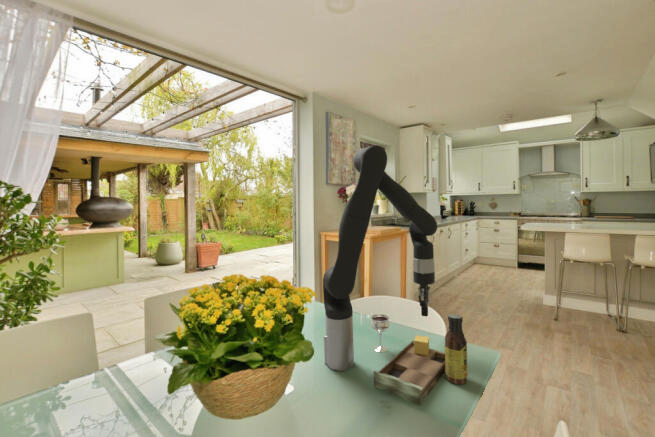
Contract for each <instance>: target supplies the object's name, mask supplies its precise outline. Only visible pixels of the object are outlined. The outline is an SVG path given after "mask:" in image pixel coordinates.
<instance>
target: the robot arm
mask: <svg viewBox="0 0 655 437" xmlns="http://www.w3.org/2000/svg"><path fill="white" fill-rule="evenodd" d="M352 161H353V166H354V168H355V169H356V171H357V172H358V173H359V176H358V179H357V180H358V181H357V184H356V186H355V188H354V190H353V192H352V193H351V195H350V197H349V198H348V201H347V202H346V204H345V206H344V208H343V212H342V215H341V220H340V223H339V227H338V228H339V229H338V245H337V246H338V248H337V256H336V261H335V262H334V266H331V267H329V268H328V269H327V270H326V271H325V272H324V274H323V278H322V292H323V304H324V305H323V306H324V311H325V335H324V336H323V345H324V346H323V350H324V351H323V352H324V364H326V365H327V367H328V368H330V369H331V370H333V371H339V372H341V371H342V372H343V371H348V370H350V369H351V368H352V367H353V366H354V364H355V360H354V358H355V355H354V354H355V352H354V320H353V318H354V317H353V315H354V314H353V306H352V302H351V296H350V295H351V294H352V292H353V290H354V288H355V285H356V284H355V283H356V277H357V271H358V264H359V260H360V256H361V254H362V253H361V252H362V249H363V246H364V243H365V240H366V239H365V238H366V235H367V232H368V228H369V224H370V221H371V217H372V212H373V208H374V205H375V201H376V196H377V192H378V191H380V193H381V194H382V195H383V196H384V197H385V198H386V199H387V200H388V201H389V202H390V203H391V205H392V206H393V208H395V209H396V211H397V212H398V213H399V214H400V215H401V216H402V217H403V218H404V219H407V220H409V224H408V231H409V235H410V239H411V243H412V246H413V261H412V264H413V265H412V268H413V271H412V272H413V274H412V275H413V279H412V280H413V282H414V284H418V288H417V293H418V296H417V297H418V301H419V302H418V303H419V306H420V307H421V308H420V309H421V314H420V315H421V316H422V317H428V315H429V304H430V303H429V302H430V297H431V294H430V292H431V286H430V285H434V284H435V281H436V279H435V278H436V277H435V274H436V273H435V270H436V269H435V267H436V266H435V260H434V258H435V257H434V255H435V254H434V244H433V243H432V241H429V240H428V237H429V236H433V235H434V234H436V233H437V231H438V222H437V221H436V219H435V218H434V216H433V215H432V214H430V212H428V211H427V210H426V209H425V208H424V207H422V206H421V205H419V204H418V202H417V201H416V199H415V198H414V197H413V195H412V194H411V193H410V192H409V191H408V190H407V189H406V188H405V187H403V186H402V185H401V184H400V183H398V182H397V181H396V180H394V179H393V178H392V177H391V176H390V175H389V174H388V173H387V172H386V171H385V170H386V168H387V164H388V154H387V152H386V150H385V149H384V147H382V146H381V145H377V144H376V145H375V144H374V145H368V146H367V147H363V148H360V149H359V150H357V151H356V152H355V154H354V156H353V160H352Z"/></svg>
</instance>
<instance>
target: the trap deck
mask: <svg viewBox="0 0 655 437" xmlns="http://www.w3.org/2000/svg"><path fill="white" fill-rule="evenodd" d="M372 374H373V377H372V378H373V387H375V388H378V389H380V390H382V391H385V392H387V393H389V394H391V395H394V396H396V397H399V398H401V399H403V400H405V401H408V402H410V403H412V404H415V405H417V406H422V405H423V403H424V401H426V398H427V397H428V395H429V394H431V392H432V390H433V389H434V388H435V386H436V385H437V383H438V382H439V381H440V379H441V378H442V377H443V375H444V374H445V352H443V351H439V350H435V349H432V348H430V347H429V353H428V356H427V355H422V354H416V353H414V340H411V341H410V343H408V344H407V345H406V346H405V347H404V348H403V349H402V350H401V351H400V352H398V353H397V355H394V357H393V358H392V359H391V360H390V361H389V362H387V364H385V365H384V366H383V367H382V368H381V369H380V370H379V371H376V370H374V371H373V373H372Z"/></svg>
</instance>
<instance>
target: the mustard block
mask: <svg viewBox="0 0 655 437" xmlns="http://www.w3.org/2000/svg"><path fill="white" fill-rule="evenodd" d="M413 341H414V353H416V354H422V355H427V356H428V353H429V348H430V337H429V336H425V335H424V336H422V335H418V334H415V337H414V340H413Z"/></svg>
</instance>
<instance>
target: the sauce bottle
mask: <svg viewBox="0 0 655 437" xmlns="http://www.w3.org/2000/svg"><path fill="white" fill-rule="evenodd" d="M447 316H448V317H447V319H448V330H447V333H446V334H445V336H444V353H445V372H444V374H445V378H446V380H447V381H448V382H450V383H452V384H454V385H464V384H466V382H467V380H468V378H467V377H468V343H467V342H468V341H467V339H466V337H465V334H464V331H463V316H462V315H461V314H456V313H449V314H448V315H447Z"/></svg>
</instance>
